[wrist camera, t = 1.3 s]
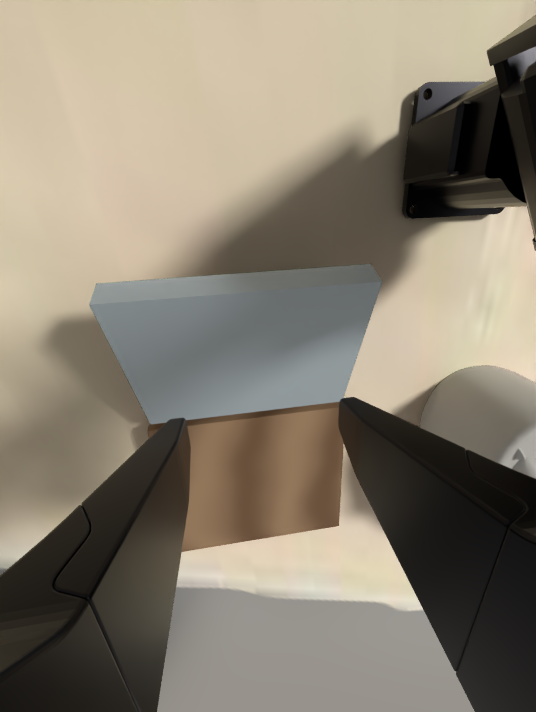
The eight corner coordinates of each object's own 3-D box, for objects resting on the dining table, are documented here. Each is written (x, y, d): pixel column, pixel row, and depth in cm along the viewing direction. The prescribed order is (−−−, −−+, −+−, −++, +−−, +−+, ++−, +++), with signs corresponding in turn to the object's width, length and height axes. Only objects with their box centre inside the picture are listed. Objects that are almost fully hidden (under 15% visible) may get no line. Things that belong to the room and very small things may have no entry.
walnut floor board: (337, 395, 24) (345, 406, 23) (332, 510, 29) (338, 525, 27) (152, 417, 23) (147, 430, 21) (179, 534, 27) (176, 552, 26)
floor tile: (370, 263, 16) (382, 281, 15) (335, 384, 23) (341, 401, 22) (96, 283, 14) (89, 304, 14) (152, 405, 22) (150, 424, 21)
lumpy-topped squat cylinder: (457, 497, 31) (539, 593, 23) (391, 417, 26) (467, 504, 18) (553, 433, 29) (677, 512, 21) (503, 334, 24) (641, 389, 16)
